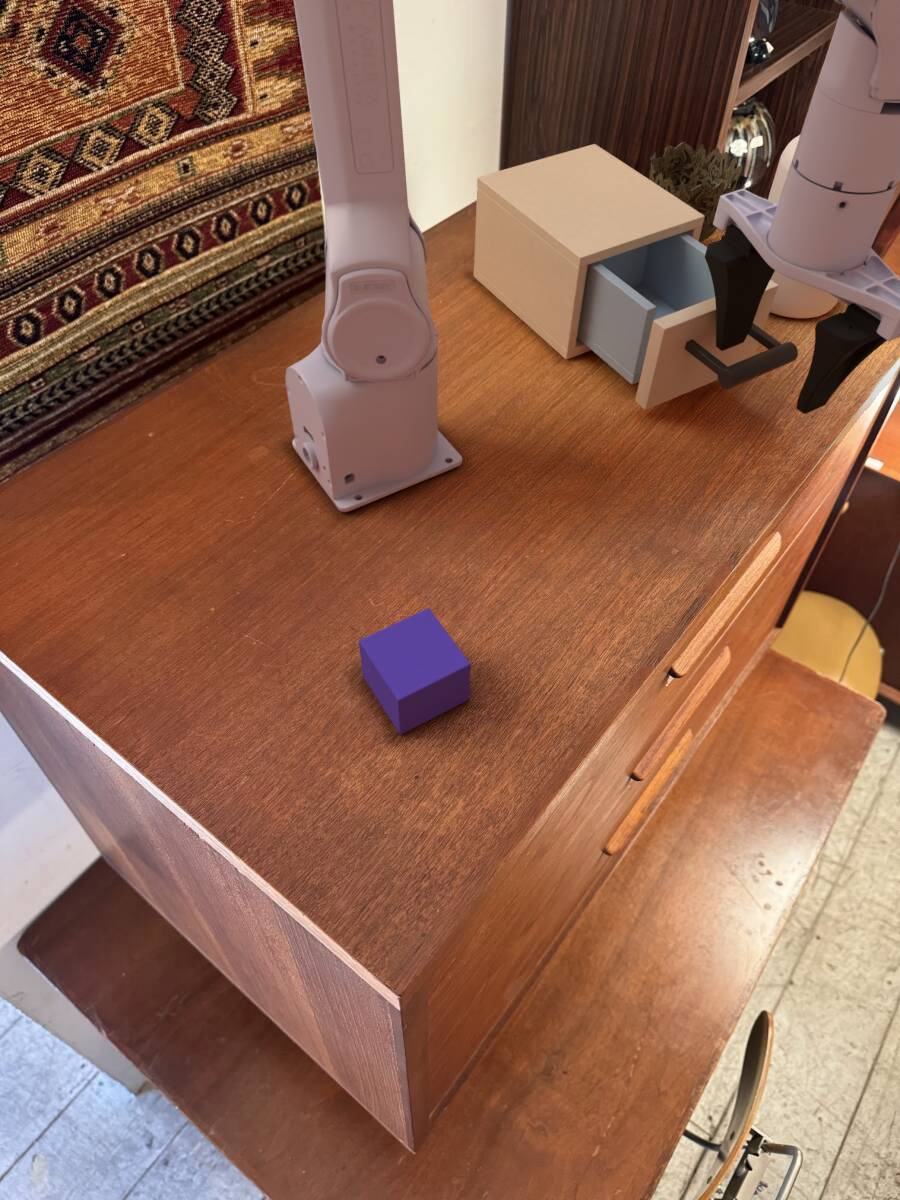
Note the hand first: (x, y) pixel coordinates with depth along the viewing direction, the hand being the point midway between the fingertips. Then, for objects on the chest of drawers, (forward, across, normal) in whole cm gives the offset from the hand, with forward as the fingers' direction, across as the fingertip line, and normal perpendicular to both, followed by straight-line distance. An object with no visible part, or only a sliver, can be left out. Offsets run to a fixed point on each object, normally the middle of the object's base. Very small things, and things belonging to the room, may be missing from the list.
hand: (768, 374), depth 58 cm
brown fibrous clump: (+6, +22, -12) cm, 26 cm away
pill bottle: (+6, +12, -16) cm, 21 cm away
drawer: (+5, +9, 0) cm, 10 cm away
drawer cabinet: (+6, +21, 0) cm, 22 cm away
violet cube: (+6, -6, +31) cm, 32 cm away
